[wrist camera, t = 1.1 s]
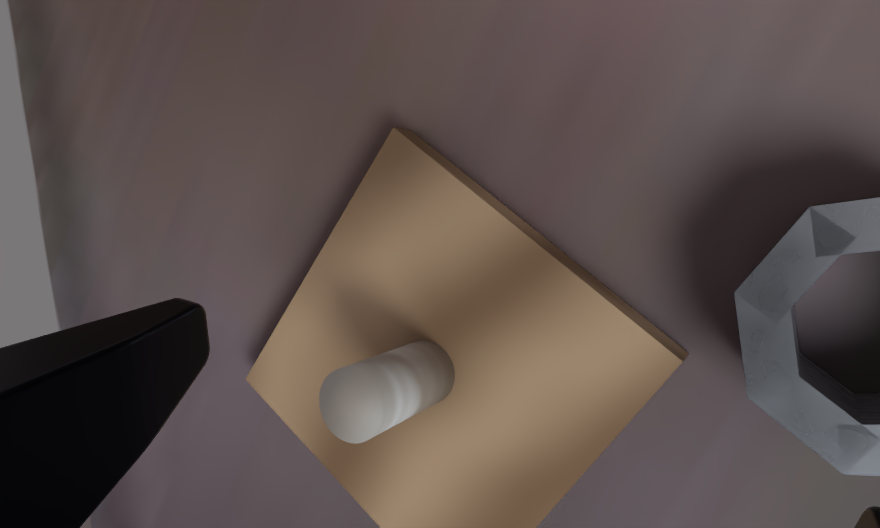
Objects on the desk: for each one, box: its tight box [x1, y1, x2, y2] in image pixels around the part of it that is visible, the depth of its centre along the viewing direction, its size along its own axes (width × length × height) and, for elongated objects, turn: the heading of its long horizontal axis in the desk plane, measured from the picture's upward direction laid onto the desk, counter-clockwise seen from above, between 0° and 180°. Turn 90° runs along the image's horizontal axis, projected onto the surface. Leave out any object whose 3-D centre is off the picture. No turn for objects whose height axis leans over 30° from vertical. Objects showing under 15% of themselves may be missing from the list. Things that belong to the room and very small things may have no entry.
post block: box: [246, 127, 689, 528], centre depth 22 cm, size 12×12×6 cm
